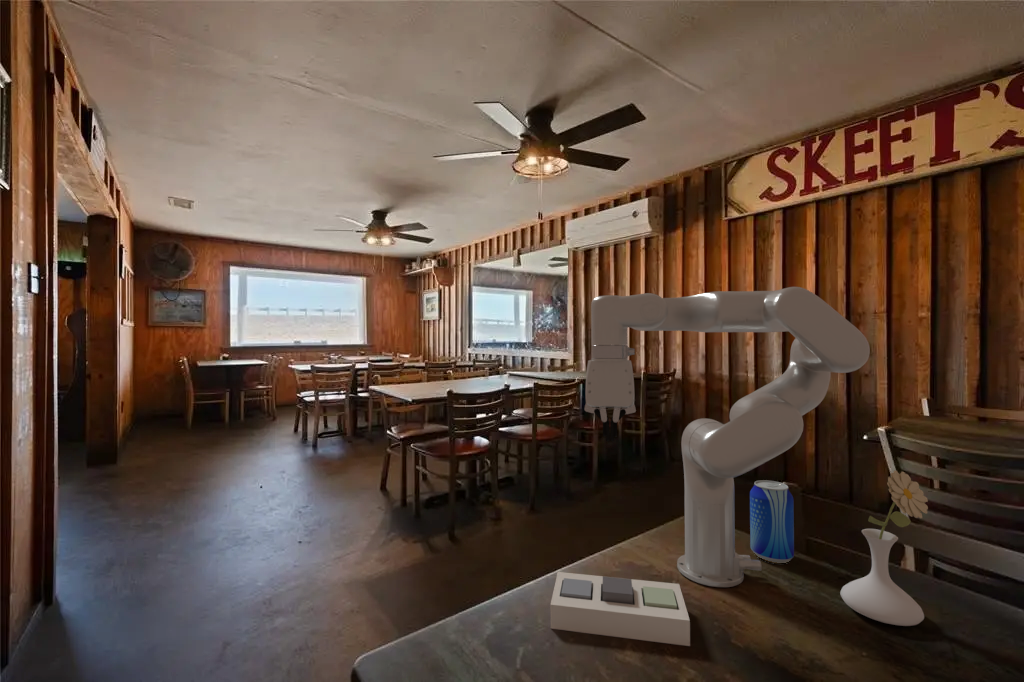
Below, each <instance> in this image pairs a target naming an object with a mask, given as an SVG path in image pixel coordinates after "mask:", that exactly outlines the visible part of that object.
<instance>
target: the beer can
mask: <svg viewBox="0 0 1024 682" xmlns="http://www.w3.org/2000/svg"><path fill="white" fill-rule="evenodd" d="M779 484H781V485H779ZM794 505H795V504H794V497H793V495H792V493H791V492H790V490H789V486H788V485H787V484H786V483H783V482H779V481H774V480H767V479H766V480H764V479H763V480H756V481H754V484H753V486H752V487H751V489H750V491H749V526H750V527H749V529H750V530H749V531H750V534H749V535H750V536H749V537H750V538H749V539H750V541H749V542H750V543H749V547H750V549H751V551H752V552H753V553H755V554H756V555H757V556H758V557H760V558H762V559H765V560H768V561H772V562H777V563H786V562H789V561H791V560H792V559H793V558H794V557H795V527H794V525H795V523H794V520H795V519H794V518H795V517H794V515H795V514H794V508H795V507H794ZM755 554H754V555H755ZM758 557H757V558H758ZM789 563H790V562H789ZM786 564H787V563H786Z"/></svg>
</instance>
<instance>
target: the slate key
mask: <svg viewBox="0 0 1024 682" xmlns="http://www.w3.org/2000/svg"><path fill="white" fill-rule="evenodd" d="M561 597H569V598H578V599H587V600H592V581H587V580H577V579H568V578H564V581H563V586H562V592H561Z"/></svg>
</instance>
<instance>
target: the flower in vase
mask: <svg viewBox="0 0 1024 682" xmlns="http://www.w3.org/2000/svg"><path fill="white" fill-rule="evenodd" d="M886 483H887V486H888V491H889V494H891V496H890V497H891V501H893V502H892V504H891V505H890V508H889V510H888V513H887V516H886V518H885V521H881V520H879V519H876V518H875V517H873V516H872V515H869V517H868V522H869V523H872V524H873V525H876V526H877V525H878V526H880V527H881V529H876V528H864V529H862V530H861V533H862V535H863V536H864V537H865V539H866V540H867V543H868V545H869V546H868V547H869V548H870V554H871V569H870V571H869V573H868V574H867V575H865V576H864V577H860V578H857V579H854V580H851V581H849V582H848V583H846V584H845V585H843V586H842V587H841V590H840V592H839V593H840V597H841V599H842V600H843V601H844V604H846V605H847V606H848V607H849V608H851V609H852V610H854V611H855V612H857V613H859V614H860V615H863V616H865V617H867V618H869V619H872V620H874V621H878V622H880V623H884V624H889V625H893V626H894V625H895V626H903V627H911V626H917V625H919V624H920V623H921V622H923V621H924V619H925V614H924V611H923V609H922V607H921V606H920V604H918V603H917V601H916V600H914V599H913V597H912V596H910V595H909V594H908V593H907V592H906V591H904V590H903V589H902V588H901V587H900V586H898V585H897V584H896V583H895V582H894V581H893V580H892V579H891V577H890V572H889V557H890V552H891V548H892V547H893V545H894V544H895V543H896V542H897V541H898V540H899V537H898V536H897V535H896V534H893V533H891V532H889V531H885V529H886V526H887V525H888V522H889V520H891V521H892V522H893V523H894V524H895V525H896V526H897V527H899V528H905V527H907V526H909V525H910V524H911V523H912V522H911V519H910V518H909V517H908V516H910V517H914V518H916V519H918V518H919V519H923V513H924V514H926V515H927V514H928V509H929V507H928V505H927V504H926V503H928V501H929V499H928V497H926V496H925V495H924V494H925V493H924V491H923V490H922V489H921V488H920V484H919V482H917V481H913V480H912V478H911V477H910V476H909V474H908V473H906V472H904V471H900V472H898V470H893V472H891V473H890V476H887V482H886ZM895 505H896V506H897V507H898V508H899V509H900V511H901V512H900V511H894V512H893V510H894V507H895ZM905 514H907V515H908V516H907V515H905Z"/></svg>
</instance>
